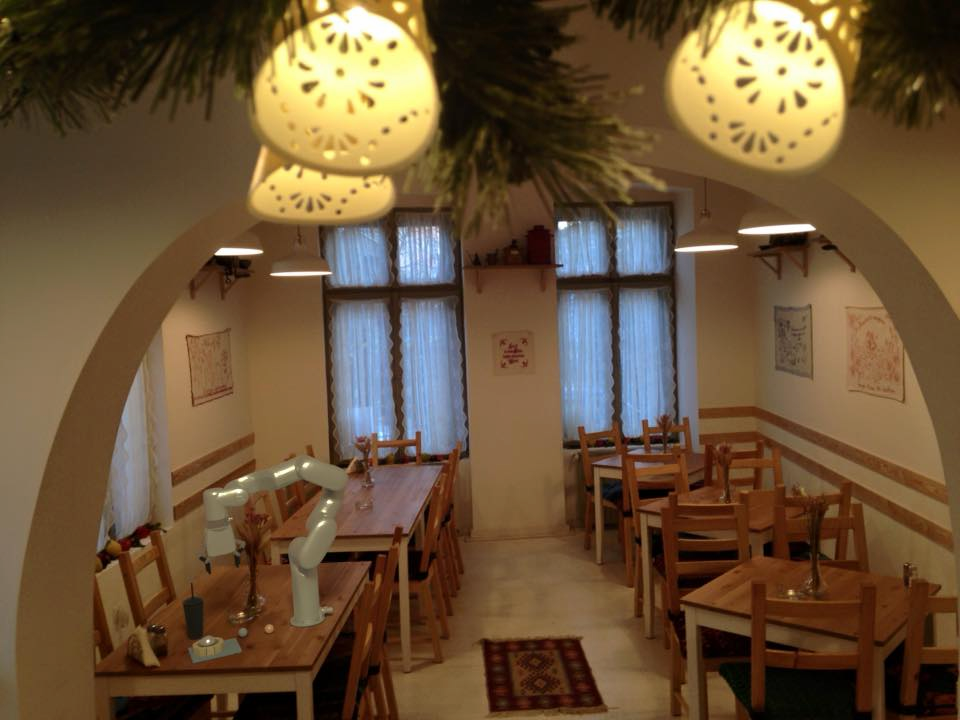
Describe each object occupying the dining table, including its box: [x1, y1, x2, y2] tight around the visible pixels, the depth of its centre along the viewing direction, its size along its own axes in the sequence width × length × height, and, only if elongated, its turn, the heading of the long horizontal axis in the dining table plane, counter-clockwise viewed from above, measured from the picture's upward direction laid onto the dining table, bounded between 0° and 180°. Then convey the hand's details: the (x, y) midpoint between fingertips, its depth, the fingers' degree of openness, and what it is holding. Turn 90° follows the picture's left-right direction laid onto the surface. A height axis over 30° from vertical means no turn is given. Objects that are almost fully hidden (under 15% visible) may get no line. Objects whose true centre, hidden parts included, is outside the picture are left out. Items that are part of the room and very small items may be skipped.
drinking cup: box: [181, 582, 205, 641], centre depth 300 cm, size 8×8×20 cm
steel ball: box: [200, 635, 215, 647], centre depth 285 cm, size 5×5×5 cm
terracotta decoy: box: [264, 624, 275, 635], centre depth 300 cm, size 3×3×3 cm
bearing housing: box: [187, 636, 243, 664], centre depth 286 cm, size 16×12×4 cm
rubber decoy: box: [237, 627, 248, 638], centre depth 298 cm, size 3×3×3 cm
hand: (223, 569), depth 296 cm, fingers open, 9 cm apart
